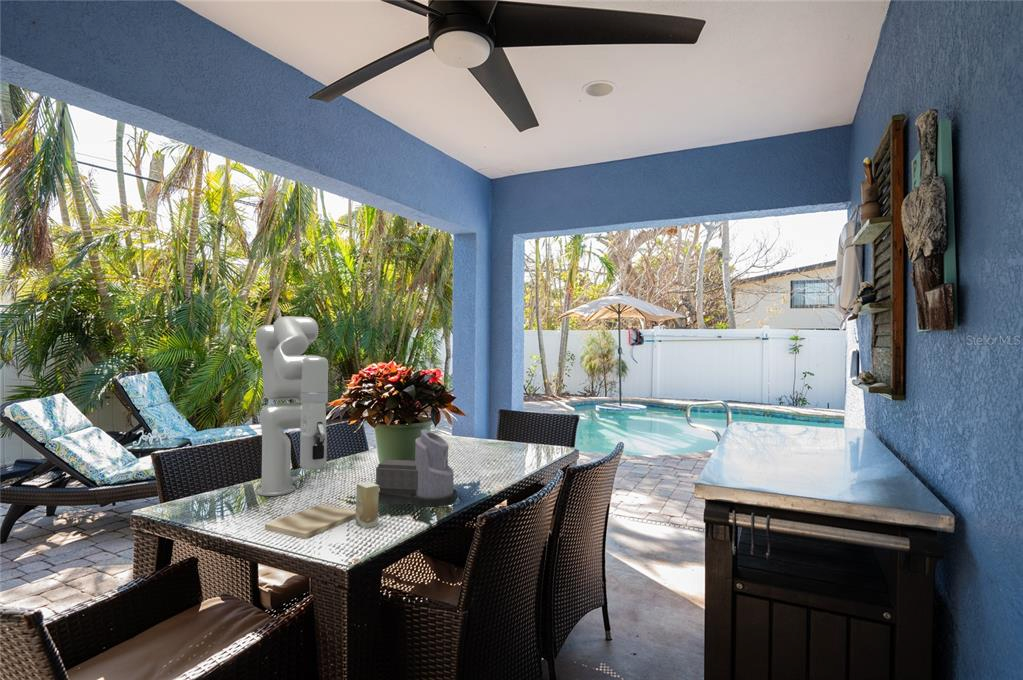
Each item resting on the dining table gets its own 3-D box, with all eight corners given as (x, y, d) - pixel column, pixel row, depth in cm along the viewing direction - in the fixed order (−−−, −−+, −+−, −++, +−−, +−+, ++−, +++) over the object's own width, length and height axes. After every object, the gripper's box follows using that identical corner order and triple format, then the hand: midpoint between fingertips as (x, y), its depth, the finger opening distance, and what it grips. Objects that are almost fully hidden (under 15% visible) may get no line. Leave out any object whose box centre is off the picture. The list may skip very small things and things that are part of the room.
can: (310, 464, 168) (311, 425, 168) (331, 465, 165) (332, 426, 166) (294, 469, 160) (295, 429, 160) (316, 471, 158) (316, 430, 158)
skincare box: (354, 523, 163) (355, 482, 163) (367, 520, 166) (368, 480, 166) (365, 529, 158) (366, 487, 158) (378, 525, 161) (379, 484, 161)
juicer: (465, 495, 194) (466, 427, 194) (454, 509, 178) (455, 435, 178) (384, 491, 198) (385, 424, 198) (367, 504, 182) (368, 431, 182)
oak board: (321, 508, 176) (321, 504, 176) (359, 516, 169) (360, 511, 169) (264, 529, 156) (264, 524, 156) (305, 538, 149) (305, 533, 149)
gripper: (293, 396, 168) (292, 453, 168) (311, 401, 154) (310, 463, 154) (317, 394, 172) (316, 450, 172) (337, 400, 158) (336, 460, 158)
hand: (313, 456), depth 163 cm, fingers closed on can, 7 cm apart
